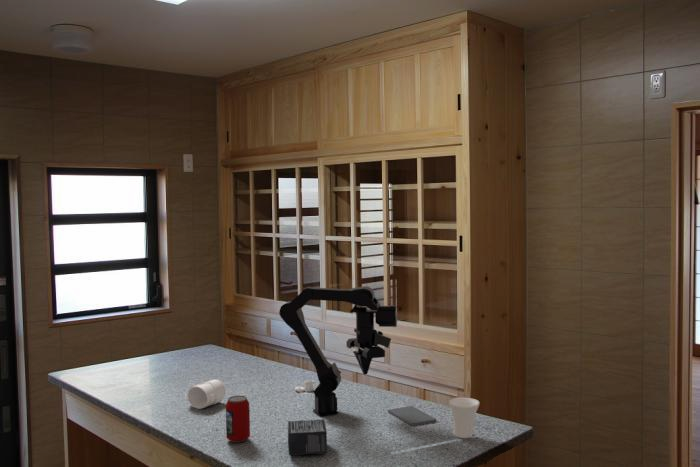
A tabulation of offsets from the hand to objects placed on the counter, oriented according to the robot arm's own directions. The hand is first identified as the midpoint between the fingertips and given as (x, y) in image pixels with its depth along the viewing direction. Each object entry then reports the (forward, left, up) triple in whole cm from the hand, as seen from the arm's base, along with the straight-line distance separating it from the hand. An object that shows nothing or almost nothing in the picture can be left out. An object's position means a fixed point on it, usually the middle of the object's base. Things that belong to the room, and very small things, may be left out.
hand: (365, 374), depth 208 cm
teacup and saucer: (-7, +36, -13) cm, 39 cm away
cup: (+17, -31, -13) cm, 37 cm away
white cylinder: (-45, +34, -13) cm, 58 cm away
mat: (+11, -10, -13) cm, 20 cm away
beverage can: (-43, -4, -13) cm, 45 cm away
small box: (-23, -22, -10) cm, 33 cm away
